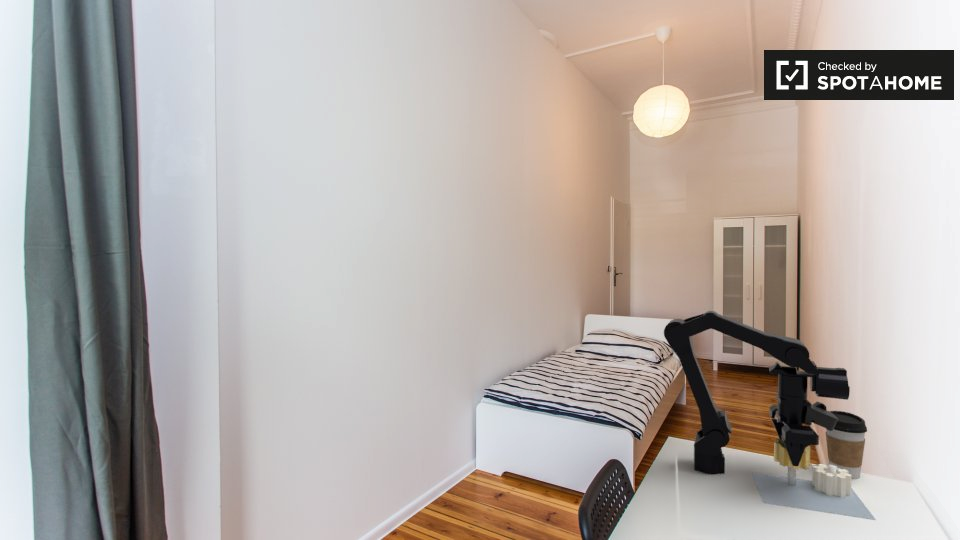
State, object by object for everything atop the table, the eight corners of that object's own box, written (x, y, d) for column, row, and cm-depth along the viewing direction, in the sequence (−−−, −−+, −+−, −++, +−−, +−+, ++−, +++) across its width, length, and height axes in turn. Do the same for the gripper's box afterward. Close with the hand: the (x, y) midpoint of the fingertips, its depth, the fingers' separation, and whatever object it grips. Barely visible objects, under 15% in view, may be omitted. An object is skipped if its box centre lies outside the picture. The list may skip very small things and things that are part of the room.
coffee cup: (851, 469, 121) (852, 410, 121) (875, 485, 113) (876, 422, 112) (815, 468, 122) (816, 410, 121) (837, 484, 114) (838, 421, 113)
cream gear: (827, 497, 106) (828, 478, 106) (805, 482, 113) (805, 464, 113) (858, 497, 106) (859, 477, 106) (834, 481, 113) (835, 463, 113)
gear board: (763, 506, 104) (763, 477, 104) (751, 475, 118) (752, 450, 118) (876, 523, 97) (876, 493, 97) (849, 489, 111) (850, 462, 111)
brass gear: (813, 471, 108) (813, 452, 107) (777, 466, 110) (777, 448, 110) (805, 458, 114) (805, 440, 114) (771, 454, 117) (771, 436, 117)
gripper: (848, 410, 100) (846, 483, 101) (821, 385, 117) (820, 448, 118) (786, 404, 104) (785, 474, 105) (769, 381, 121) (768, 442, 122)
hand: (791, 459), depth 112 cm, fingers closed on brass gear, 7 cm apart
